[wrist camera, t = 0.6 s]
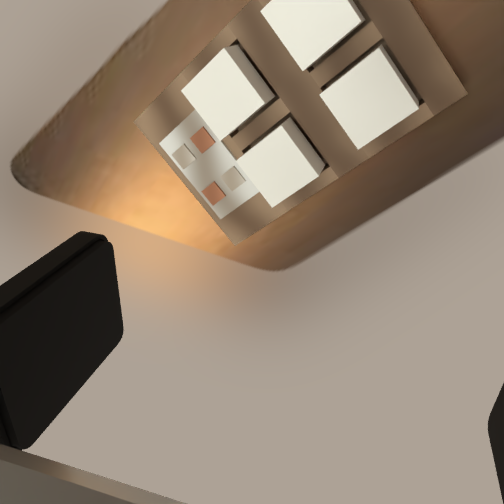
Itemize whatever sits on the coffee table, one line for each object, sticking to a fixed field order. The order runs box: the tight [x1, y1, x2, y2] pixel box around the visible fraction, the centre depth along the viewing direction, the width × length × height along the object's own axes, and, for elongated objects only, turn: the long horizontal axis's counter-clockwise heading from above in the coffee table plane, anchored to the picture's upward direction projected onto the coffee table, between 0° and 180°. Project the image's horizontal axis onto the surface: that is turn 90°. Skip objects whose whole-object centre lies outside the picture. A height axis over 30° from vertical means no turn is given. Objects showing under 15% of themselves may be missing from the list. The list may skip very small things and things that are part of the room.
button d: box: [236, 117, 325, 208], centre depth 34 cm, size 5×5×3 cm
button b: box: [320, 44, 419, 150], centre depth 30 cm, size 5×5×3 cm
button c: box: [181, 45, 275, 141], centre depth 33 cm, size 5×5×3 cm
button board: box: [134, 0, 468, 246], centre depth 35 cm, size 22×14×4 cm, turn 130°
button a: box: [260, 0, 365, 71], centre depth 29 cm, size 5×5×3 cm
